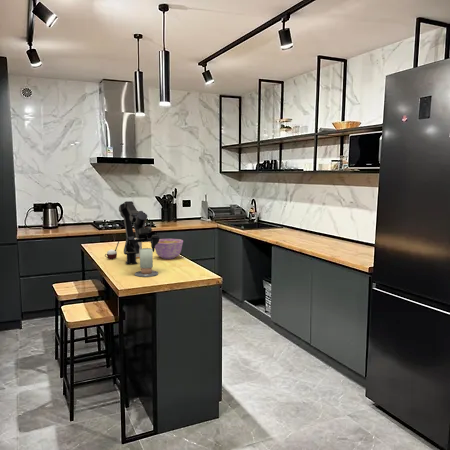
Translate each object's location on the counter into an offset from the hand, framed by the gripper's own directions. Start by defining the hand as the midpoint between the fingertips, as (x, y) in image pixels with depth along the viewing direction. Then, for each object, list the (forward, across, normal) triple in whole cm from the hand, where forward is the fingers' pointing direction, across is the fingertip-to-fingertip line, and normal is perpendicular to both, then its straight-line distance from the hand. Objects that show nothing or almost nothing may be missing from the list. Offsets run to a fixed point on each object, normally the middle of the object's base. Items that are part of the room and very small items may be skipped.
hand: (145, 252), depth 235 cm
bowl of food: (-18, +27, +36) cm, 48 cm away
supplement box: (-26, +7, +44) cm, 51 cm away
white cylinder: (+6, 0, +5) cm, 8 cm away
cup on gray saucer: (+9, 0, +8) cm, 12 cm away
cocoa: (-27, -8, +45) cm, 53 cm away
